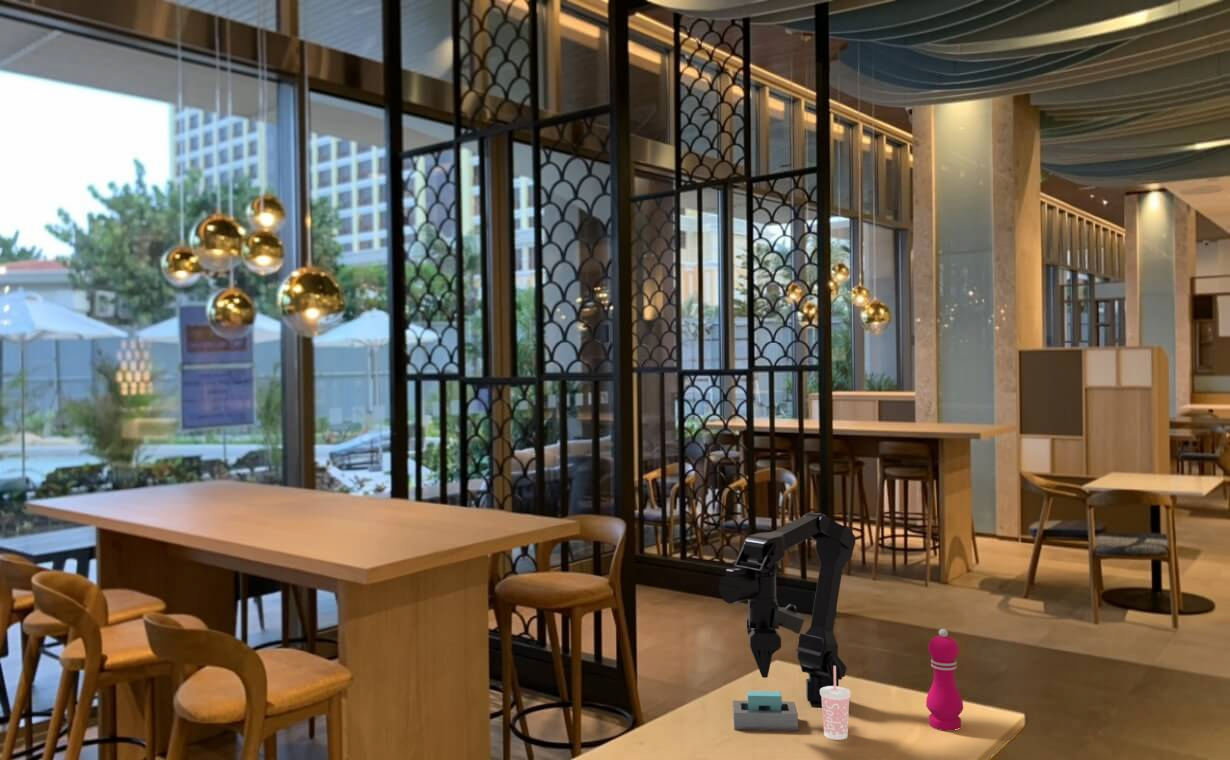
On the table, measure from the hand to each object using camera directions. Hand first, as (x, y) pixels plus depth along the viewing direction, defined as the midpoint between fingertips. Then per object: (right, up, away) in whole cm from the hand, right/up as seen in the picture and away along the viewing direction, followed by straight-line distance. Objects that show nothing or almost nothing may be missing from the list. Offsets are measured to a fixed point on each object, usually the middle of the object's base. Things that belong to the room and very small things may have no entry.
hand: (763, 670), depth 191 cm
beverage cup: (+14, -11, -7) cm, 19 cm away
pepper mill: (+37, -11, -3) cm, 39 cm away
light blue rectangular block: (0, -10, 0) cm, 10 cm away
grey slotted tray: (0, -11, 0) cm, 11 cm away
